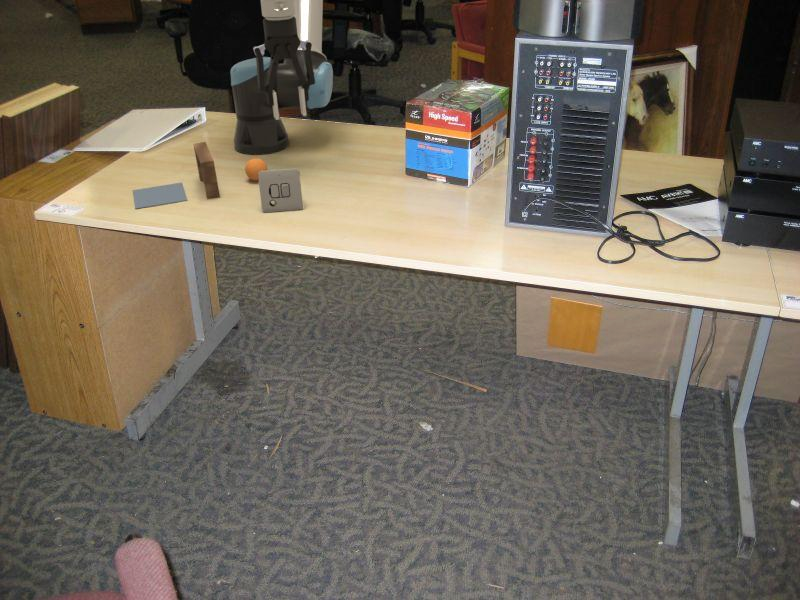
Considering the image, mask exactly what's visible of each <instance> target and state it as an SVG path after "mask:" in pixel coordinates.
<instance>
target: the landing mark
mask: <svg viewBox="0 0 800 600" xmlns="http://www.w3.org/2000/svg"><path fill="white" fill-rule="evenodd" d="M131 192H132V197H133V203H134V209H135V210H140V209H146V208H152V207H158V206H164V205H169V204H175V203H176V204H178V203H181V202H187V201H188V198H187V194H186V191H185V187H184V185H183V182H177V183H169V184H163V185H157V186H151V187H144V188H139V189H132V191H131Z"/></svg>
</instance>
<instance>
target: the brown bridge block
mask: <svg viewBox="0 0 800 600" xmlns="http://www.w3.org/2000/svg"><path fill="white" fill-rule="evenodd" d="M192 144H193V148H194V156H195V160H196V165H197V173H198V175H199V176H198V177H199V180H200V182H203V186H204V191H205V196H206V199H207V200H213V199H219V198H221V195H220V190H219V189H220V188H219V184H218V183H219V181H218V178H217V171H216V166H215V160H214V158H213V155H212V153H211V151H210V149H209V147H208V143H207V142H206V141H202V142H196V143H192Z"/></svg>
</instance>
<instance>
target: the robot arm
mask: <svg viewBox="0 0 800 600" xmlns="http://www.w3.org/2000/svg"><path fill="white" fill-rule="evenodd" d="M323 4H324V0H260V7H261V8H260V9H261V16H262V17H263V20H262V24H263V32H264V42H263V44H261V45H258V46H257V45H255V46H253V47H252V50H253V53H254V55H255V57H253V58H249V59H246V60H245V59H244V60H242V61H239V62H237V63H236V64H234V65H233V66H232V67H231V68H230V72H229V73H230V85H231V89H232V97H233V102H234V103H233V104H234V110H235V114H236V115H235V116H236V124H235V131H234V136H233V145H234V150H236V151H237V152H238V153H241V154H246V155H265V154H266V155H267V154H272V153H276V152H279V151H281V150H284V149H285V148H287V147H288V146H289V145H290V141H289V140H290V139H289V133H288V131H287V130H286V128H285V125H284V123H283V121H282V119H281V116H280V115H281V114H280V110H279V109H282V110H283V109H284V110H285V109H287V110H288V109H300V114H301V115H302V116H303V117H307V115H308V114H307V109H310V110H312V109H319V108H325V107H326V106H327V105H328V104H329V102H330V100H331V98H332V92H333V84H334V82H333V81H334V80H333V79H334V78H333V77H334V70H333V66H332V64H331V62H328V59H327V56H326V54H324V53H323V49H322V48H323V46H322V45H323V14H324V13H323V7H324V5H323ZM265 50H266V51H267V52H268V53H269V54H270V57H269V56H264V55H265ZM282 60H283V63H279V62H280V61H282Z"/></svg>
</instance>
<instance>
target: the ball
mask: <svg viewBox="0 0 800 600" xmlns="http://www.w3.org/2000/svg"><path fill="white" fill-rule="evenodd" d="M267 170H269V169H268V165H267V164H266V162H265V161H264V160H262V159H261V158H258V157H256V158H251V159H249V160H248V161H247V163H246V164H245V168H244V173H245V174H246V176H247V177H248V179H250V180H251V181H256V182H257V181H258V182H259V178H258V173H259V172H260V171H267Z"/></svg>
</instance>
